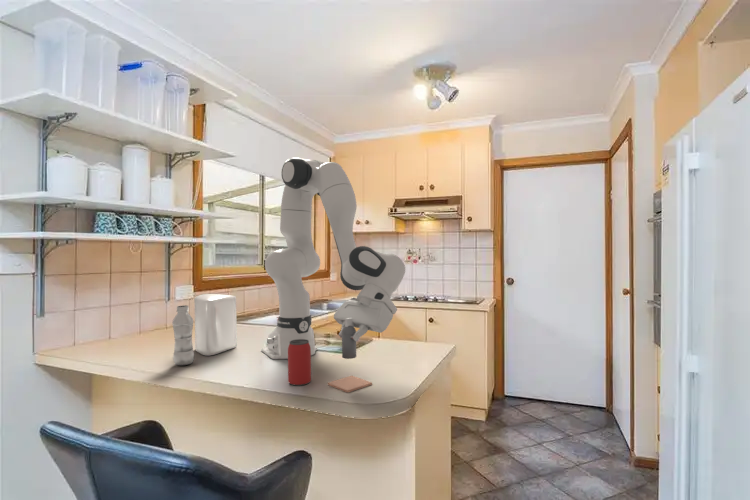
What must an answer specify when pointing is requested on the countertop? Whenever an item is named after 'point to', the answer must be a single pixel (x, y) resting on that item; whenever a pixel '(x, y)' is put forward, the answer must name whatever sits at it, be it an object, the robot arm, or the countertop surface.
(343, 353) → the grey pump bottle
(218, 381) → the countertop surface
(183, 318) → the plastic bottle
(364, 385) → the tile
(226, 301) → the white rounded block
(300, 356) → the beer can
